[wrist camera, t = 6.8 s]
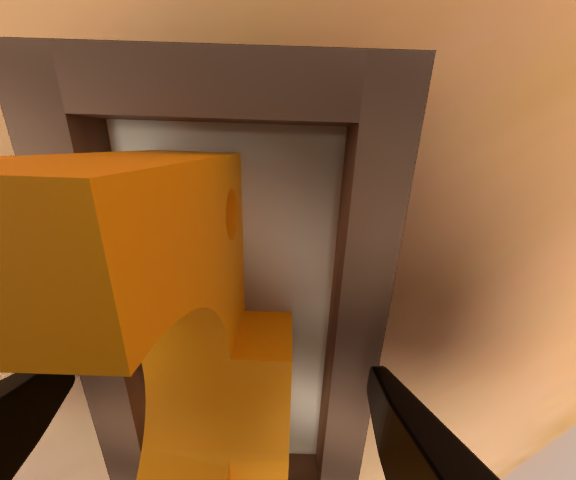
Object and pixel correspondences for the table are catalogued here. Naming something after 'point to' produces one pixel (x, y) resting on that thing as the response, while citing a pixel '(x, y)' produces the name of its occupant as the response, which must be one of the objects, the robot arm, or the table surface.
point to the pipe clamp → (148, 302)
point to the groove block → (255, 197)
